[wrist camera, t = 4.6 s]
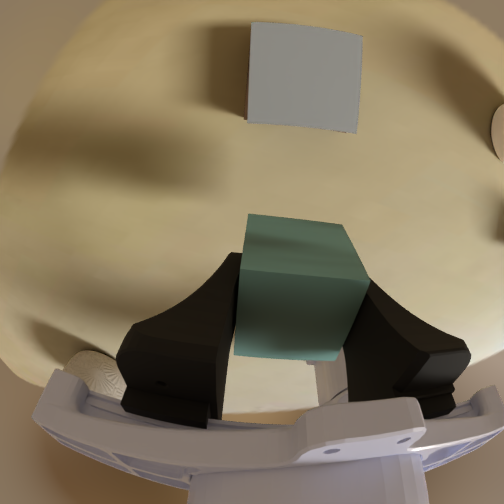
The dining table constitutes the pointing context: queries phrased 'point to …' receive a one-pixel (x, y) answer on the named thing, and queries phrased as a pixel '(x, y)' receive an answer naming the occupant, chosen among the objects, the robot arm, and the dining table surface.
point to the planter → (97, 373)
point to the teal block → (297, 289)
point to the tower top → (304, 76)
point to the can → (498, 132)
